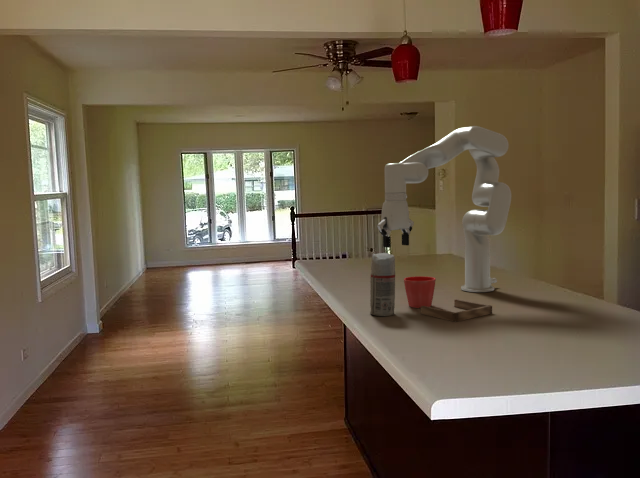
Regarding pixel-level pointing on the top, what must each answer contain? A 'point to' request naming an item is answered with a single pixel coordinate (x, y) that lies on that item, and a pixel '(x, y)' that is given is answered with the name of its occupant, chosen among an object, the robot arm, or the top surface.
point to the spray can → (382, 284)
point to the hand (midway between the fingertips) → (396, 246)
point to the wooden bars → (472, 311)
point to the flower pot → (419, 290)
